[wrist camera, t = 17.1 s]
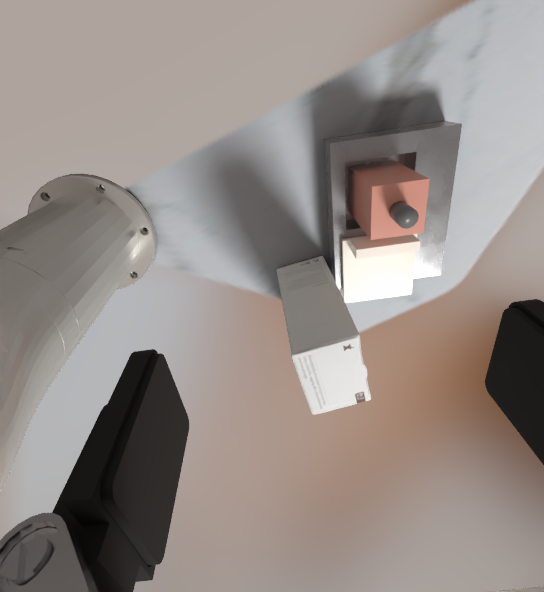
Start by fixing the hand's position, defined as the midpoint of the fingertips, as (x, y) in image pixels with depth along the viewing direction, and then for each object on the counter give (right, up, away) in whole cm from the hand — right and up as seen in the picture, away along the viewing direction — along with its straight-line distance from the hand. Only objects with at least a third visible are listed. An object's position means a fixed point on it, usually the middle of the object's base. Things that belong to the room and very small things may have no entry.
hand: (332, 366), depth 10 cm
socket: (+10, +11, +27) cm, 31 cm away
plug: (+8, +13, +25) cm, 30 cm away
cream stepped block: (+10, +5, +27) cm, 29 cm away
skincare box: (+3, +3, +32) cm, 32 cm away
